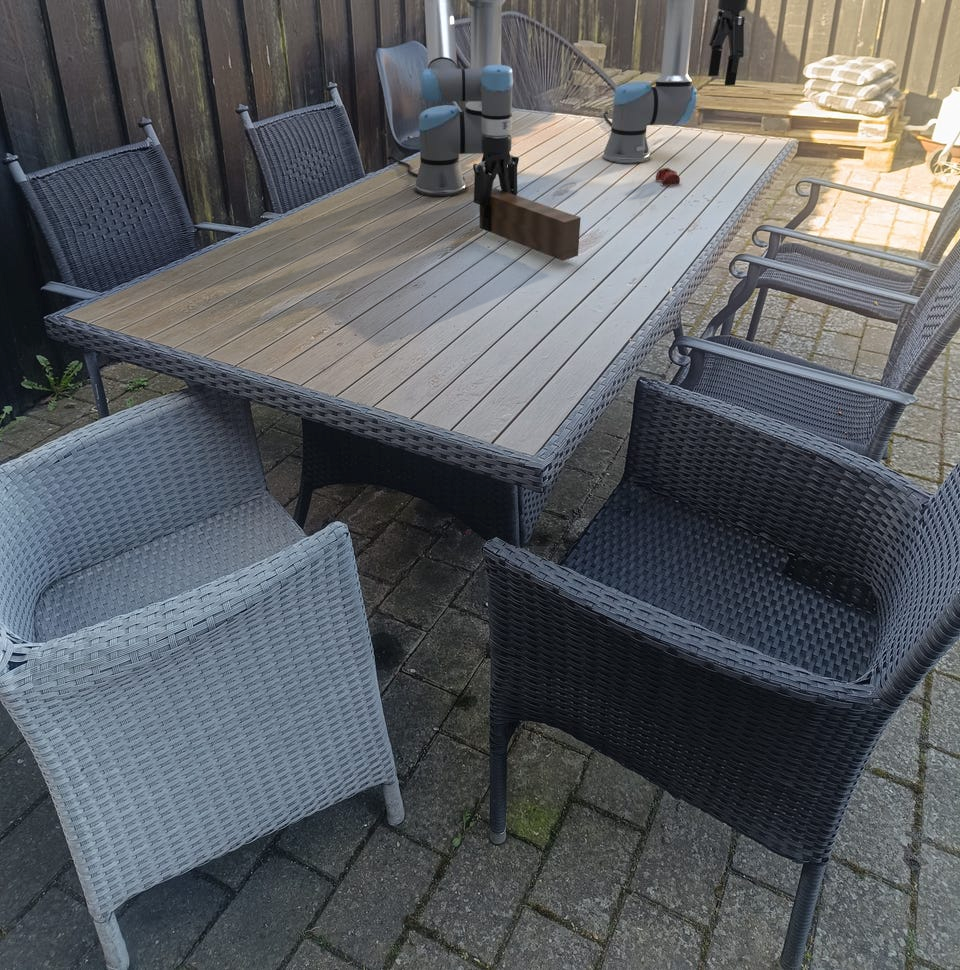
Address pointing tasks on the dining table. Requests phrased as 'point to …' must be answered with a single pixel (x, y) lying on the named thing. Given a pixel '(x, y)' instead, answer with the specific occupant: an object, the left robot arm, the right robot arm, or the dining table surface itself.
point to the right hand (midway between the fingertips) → (721, 80)
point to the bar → (534, 225)
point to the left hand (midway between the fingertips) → (495, 226)
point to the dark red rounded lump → (668, 176)
